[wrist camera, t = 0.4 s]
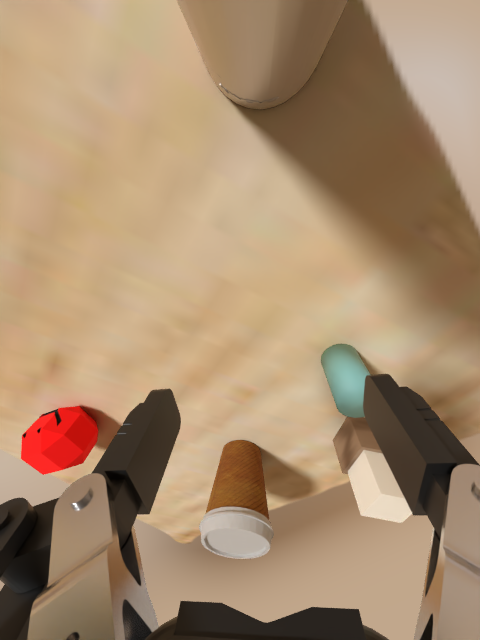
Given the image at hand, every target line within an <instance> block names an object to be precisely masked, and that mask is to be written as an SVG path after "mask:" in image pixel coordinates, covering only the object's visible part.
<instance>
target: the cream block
mask: <svg viewBox="0 0 480 640" xmlns="http://www.w3.org/2000/svg"><path fill="white" fill-rule="evenodd" d="M348 475H349V478H350V481H351V485H352V488H353V491H354V494H355V498H356V501H357V504H358V507H359V511H360V514H361V515H362V516H367V517H372V518H378V519H383V520H389V521H394V522H399V523H402V522H403V521H404V520H406V519H407V518H408V517H409V516H410V515H411V514H412V512H411V510H410V508H409V506H408V504H407V502H406V500H405V498H404V496H403V494H402V492H401V490H400V488H399V486H398V484H397V482H396V480H395V477H394V475H393V473H392V471H391V469H390V467H389V465H388V463H387V461H386V459H385V457H384V455H383V454H382V453H377V452H372V451H367V450H363V452H362V453H361V454H360V456H359V457H358V458H357V460H356V461H355V462H354V464H353V465H352V466H351V468H350V469H349V470H348Z"/></svg>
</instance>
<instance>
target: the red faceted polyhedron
mask: <svg viewBox="0 0 480 640" xmlns="http://www.w3.org/2000/svg"><path fill="white" fill-rule="evenodd" d="M97 437H98V428H97V424H96V421H95V420H94V419H93V418H91V417H90V416H89V415H88V414H87V413H86V412H85V411H84V410H83V409H82V408H81V407H80V406H77V407H66V408H59V409H57V410H54V411H51V412H48V413H46V414H42V415H41V416H40V417H39V419H38V420H36V421H35V422H34V423H33V424H32V426H31V427H30V428H29V429H28V430H27V431H26V432H25V433H24V434H23V435H22V451H21V459H22V460H23V461H25V462H26V463H28V464H29V465H30V466H32V467H33V468H35V469H36V470H37V471H39V472H40V473H42V474H43V475H44V474H48V473H52V472H55V471H59V470H63V469H66V468H69V467H72V466H76V465H79V464H82V463H83V462H84V461H85V459H86V458H87V456H88V455H89V453H90V452H91V450H92V448H93V447H94V445H95V444H96V442H97Z"/></svg>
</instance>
